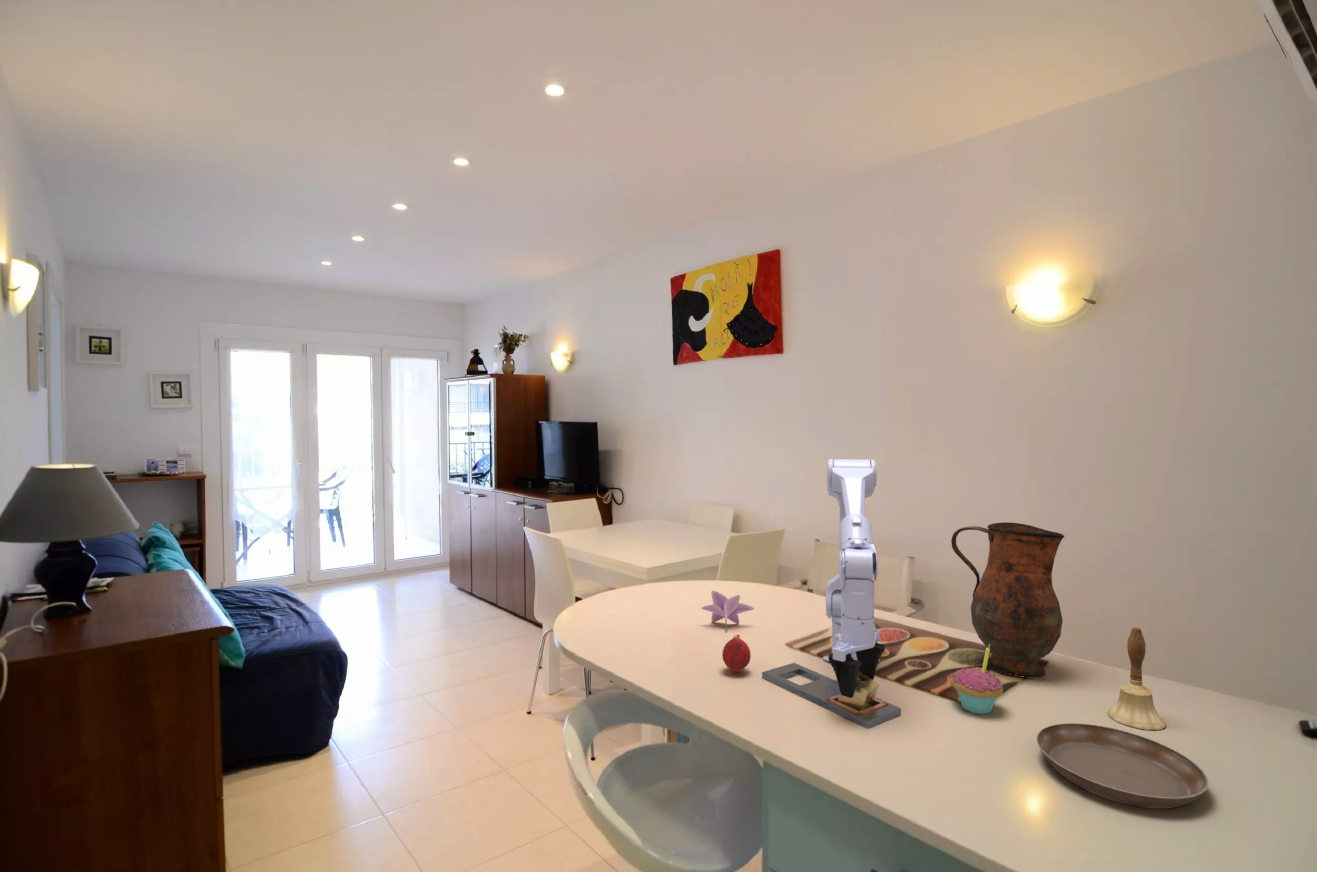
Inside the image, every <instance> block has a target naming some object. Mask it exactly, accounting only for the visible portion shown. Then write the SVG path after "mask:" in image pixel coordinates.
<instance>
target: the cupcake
mask: <svg viewBox="0 0 1317 872" xmlns="http://www.w3.org/2000/svg"><path fill="white" fill-rule="evenodd" d="M989 647H990V644H989V646H988V648H987V647H986V648H985V653H984V657H983V662H982V667H975V666H973V667H969V668H968V667H965V668H961V669H958V670H956V671H955V672H953V673H952V674H951V677H950V680H949V681H950V685H951V686H952V688H954V689H955V691H957V695H958V696H959V700H960V704H961V707H962V708H963V709H964V710H966V711H968V712H970V713H972V714H973V713H974V714H980V715H986V714H989V713H991V712H992V710H993V706H994V704H995V701H996V700H997V698H999V697H1001V696H1002V695H1003V693H1004V684H1003V681H1002V680H1001V679H1000V678H998V676H997V675H995V674H994V673H993V672H991V671H988V670H987V668H988V667H987V663H988V658H989V657H990V653H991V652H990V649H989Z"/></svg>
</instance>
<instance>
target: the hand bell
mask: <svg viewBox="0 0 1317 872" xmlns="http://www.w3.org/2000/svg"><path fill="white" fill-rule="evenodd" d="M1126 644H1127V646H1126V647H1127V655H1128V658H1129V661H1130V662H1129V663H1130V675H1129V678H1130V679H1129V683H1126V684H1122V685H1121V686H1120V689H1119V690H1120V691H1119V695H1118V698H1117V701H1116V703H1115V704H1114V705H1113V706H1112V707H1110V708H1108V710H1107V711H1106V713H1107V715H1109V716H1110V717H1111V718H1112V719H1111V718H1110V717H1109V716H1108V717H1109V718H1110V719H1111V720H1113V721H1114V720H1115V721H1114V722H1117V723H1118V722H1119V723H1118V724H1121V725H1123V724H1124V726H1126V725H1127V726H1126V727H1131V728H1133V729H1139V730H1143V729H1144V730H1145V731H1161V730H1163V728H1164V729H1165V728H1166V727H1167V723H1166V721H1165V720H1164V718H1162V716H1161V715H1160V714H1159V713H1158V712H1157V710H1156V706H1155V704H1154V699H1153V693H1152V691H1151V690H1150V689H1149V688H1147V687H1145V686H1144V685H1143V677H1142V676H1143V672H1142V671H1143V667H1142V666H1143V662H1144V659H1145V656H1146V651H1147V650H1146V648H1147V647H1146V641H1145V637H1144V635H1143V632H1142V629H1141V628H1140V627H1132V628H1131V632H1130V634H1129V636H1128V639H1127V642H1126ZM1165 726H1166V727H1165Z"/></svg>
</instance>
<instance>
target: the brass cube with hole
mask: <svg viewBox="0 0 1317 872" xmlns="http://www.w3.org/2000/svg"><path fill="white" fill-rule="evenodd" d="M879 686H880V683H878V682H877V681H875V680H872V679H871V678H869V677H868V676H866V675H864V674H863V673H861V672H860V671H859V670H858V674H857V678H856V684H855V692H854V696H853V697H852V698H849V697H846V696H843V695H841V693H840V695H839V697H838V700H837V701H839V702H840V703H842V704H844V705H846V706H848V707H851V708H853V709H855V710H857V711H862V710H865V709H867V708H870V707H872V706H871V705H872V703H873V700H874V698H875V697H876V694H877V692H878V690H879Z"/></svg>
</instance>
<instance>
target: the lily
mask: <svg viewBox="0 0 1317 872" xmlns="http://www.w3.org/2000/svg"><path fill="white" fill-rule="evenodd" d="M710 593H711V600H712V604H708V605H704V606H702V607H701V608H700V609H701V610H703V611H707V612H710V613H711V619H710V620H711V623H716V622H719V621H721V620H723V619H724V620H725V621H724V624H725V625H724V626H725V633H726V634H728V628H727V625H728V624H727V623H728V622H727V619H728V620H729V621H731V622H732V623H735V624H737V625H739V624H740V619H739V614H742V613H744V612H748V611H750V612H751V611H753V610H755V608H754V607H753V606H752V605H748V604H746V603H742V602H740V599H741V596H740V595H739V594H738V595H734V596H731V597H730V598H727V596H725V595H724V594H722V593H720V592H718V591H715V590H711V591H710Z"/></svg>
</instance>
